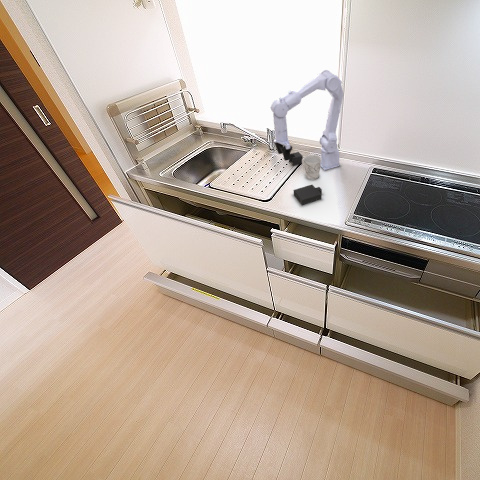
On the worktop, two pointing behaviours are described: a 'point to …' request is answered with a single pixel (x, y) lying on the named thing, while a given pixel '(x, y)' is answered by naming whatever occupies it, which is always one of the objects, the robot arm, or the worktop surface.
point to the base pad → (308, 194)
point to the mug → (311, 166)
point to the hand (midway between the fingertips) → (283, 156)
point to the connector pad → (295, 158)
